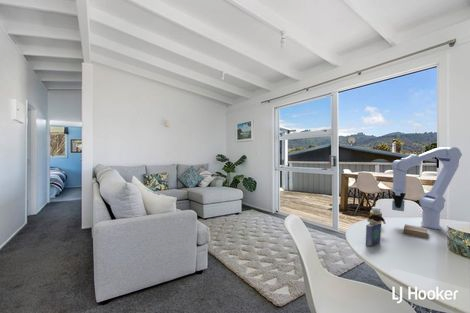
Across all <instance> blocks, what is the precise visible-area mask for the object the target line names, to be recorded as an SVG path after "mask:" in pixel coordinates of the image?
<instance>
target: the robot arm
mask: <svg viewBox="0 0 470 313" xmlns="http://www.w3.org/2000/svg"><path fill="white" fill-rule="evenodd" d="M462 156H463V154H462V152H461V150H460V149H459V148H458V147H455V146H452V147H445V146H444V147H443V146H439V147H436V148H433V149H430V150H427V151H426V152H424V153H421V154H414V153H413V154H410V155H408V156H407V157H402V158H400V159H396V160H393V161H392V163H391V164H390V168H391V169H392V174H393V175H392V176H393V177H392V188H390V189H389V191H390V192H391V191H392V192H393V193H391V197H392V198H393V199H394V202H395V207H396V208H401V204H402V200H404V198H405V196H406V194H407V190H406V188H407V171H409V169H410V168H413V167H416V166H418V165H421V164H422V162H423V161H426V160H427V161H428V160H429V159H430V160H431V159H433V158H436V159H438V161H439V162H440V163H441V164H442V168H441V171H440V172H439V174H438V176H437V178H436V180H435V181H434V183H433V184H432V187H431V189H430V191H427V192H426V193H424V194H423V196H422V197H420V198H419V201H418V202H419V205H420V206H421V209H422V210H421V212H422V213H421V215H422V216H421V217H422V218H421V219H422V220H421V222H420V227H423V228H428V229H433V230H441V229H442V228H441V224H440V220H441V212H442V211H443V209H445V202H446V199H445V196H444V194H445V192H446V190H447V189H448V187H449V185H450V184H451V181H452V179H453V178H454V175H455V174H456V172H457V170H458V168H459V164H460V159H461V157H462ZM393 199H392V200H393Z"/></svg>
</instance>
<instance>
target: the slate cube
mask: <svg viewBox="0 0 470 313" xmlns="http://www.w3.org/2000/svg"><path fill="white" fill-rule="evenodd" d="M391 202H392V204H391V205H392V207H391V208H392V210H393V211H398V212H404V211H405V200H404V199H403V200H402V204H401V208H396V207H395V202H394V199H392V200H391Z"/></svg>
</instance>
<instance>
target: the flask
mask: <svg viewBox="0 0 470 313" xmlns="http://www.w3.org/2000/svg"><path fill="white" fill-rule="evenodd" d="M371 220H372V221H371ZM371 220H370V221H371V223H370V221H369V223H370V224H369V223H368V224H366V226H365V227H366V229H365V246H366V247H374V246H376V245H379V244H381V232H382V230H381V229H382V224H381V223H379V222H375V221H374V220H373V219H371Z"/></svg>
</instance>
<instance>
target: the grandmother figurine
mask: <svg viewBox="0 0 470 313" xmlns="http://www.w3.org/2000/svg"><path fill="white" fill-rule="evenodd" d="M380 212H382V211H381V209H380V210H379V209H378V208H374V209H373V213H374V215H371V216H370V215H369V217H368V218H367V222H368V223H370V220H371V219H373V220H374V221H375V222H379V223H380V220H381V221H382V223H383V225H385V224H386V220H385V219H384V218H383V216H382V217H381V216H379V213H380Z"/></svg>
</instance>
